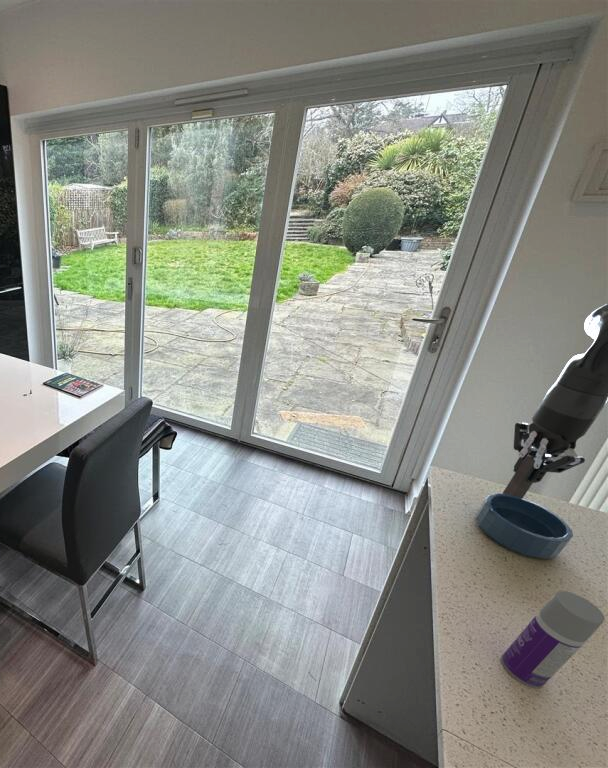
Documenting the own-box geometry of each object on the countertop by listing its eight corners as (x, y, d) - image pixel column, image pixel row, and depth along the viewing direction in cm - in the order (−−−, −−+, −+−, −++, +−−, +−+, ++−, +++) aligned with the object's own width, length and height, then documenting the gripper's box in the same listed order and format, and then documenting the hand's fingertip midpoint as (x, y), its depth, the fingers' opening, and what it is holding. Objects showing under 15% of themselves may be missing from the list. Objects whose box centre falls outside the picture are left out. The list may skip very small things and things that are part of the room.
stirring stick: (507, 502, 92) (537, 455, 86) (515, 509, 90) (547, 462, 84) (497, 501, 92) (526, 454, 86) (504, 508, 90) (535, 461, 84)
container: (492, 651, 63) (544, 587, 56) (526, 656, 62) (583, 592, 55) (516, 685, 58) (575, 621, 51) (552, 691, 58) (617, 626, 51)
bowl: (521, 515, 88) (534, 496, 86) (575, 564, 77) (592, 544, 75) (459, 510, 89) (471, 490, 87) (505, 557, 78) (519, 537, 76)
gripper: (628, 428, 73) (573, 501, 81) (558, 392, 85) (516, 458, 93) (582, 425, 73) (532, 498, 81) (519, 389, 86) (481, 455, 94)
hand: (524, 476), depth 87 cm, fingers closed on stirring stick, 2 cm apart
